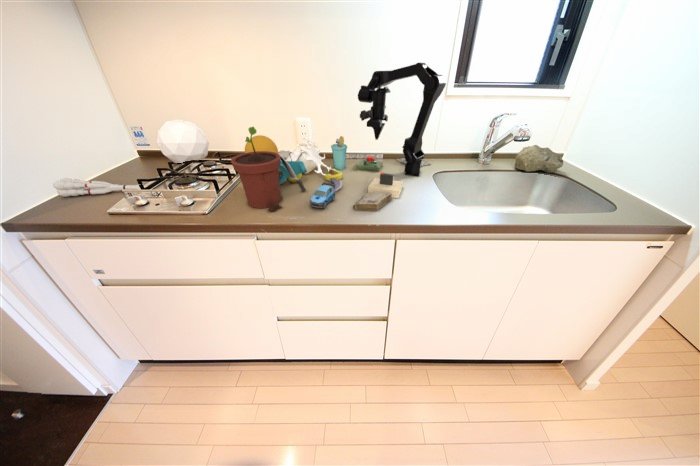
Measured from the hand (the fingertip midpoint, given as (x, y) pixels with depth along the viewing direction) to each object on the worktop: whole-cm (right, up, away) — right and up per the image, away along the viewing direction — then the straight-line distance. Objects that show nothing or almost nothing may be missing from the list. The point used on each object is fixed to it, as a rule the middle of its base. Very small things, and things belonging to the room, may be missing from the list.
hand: (376, 139), depth 121 cm
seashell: (-39, -12, -9) cm, 41 cm away
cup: (-18, -14, +1) cm, 23 cm away
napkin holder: (+20, -8, +9) cm, 24 cm away
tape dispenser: (-37, -24, -22) cm, 50 cm away
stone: (-5, -36, -31) cm, 48 cm away
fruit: (-37, -24, -15) cm, 47 cm away
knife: (-20, -24, -15) cm, 35 cm away
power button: (-3, -10, 0) cm, 11 cm away
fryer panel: (+1, -29, -22) cm, 36 cm away
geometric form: (-102, -5, +10) cm, 102 cm away
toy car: (-23, -35, -31) cm, 52 cm away
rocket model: (-122, -29, -29) cm, 129 cm away
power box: (-3, -13, +2) cm, 14 cm away
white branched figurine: (-28, -12, -10) cm, 32 cm away
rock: (+75, -12, -8) cm, 76 cm away
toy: (-62, -11, -4) cm, 63 cm away
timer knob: (+1, -26, -23) cm, 35 cm away
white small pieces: (-38, -6, -8) cm, 39 cm away
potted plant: (-42, -34, -29) cm, 61 cm away
